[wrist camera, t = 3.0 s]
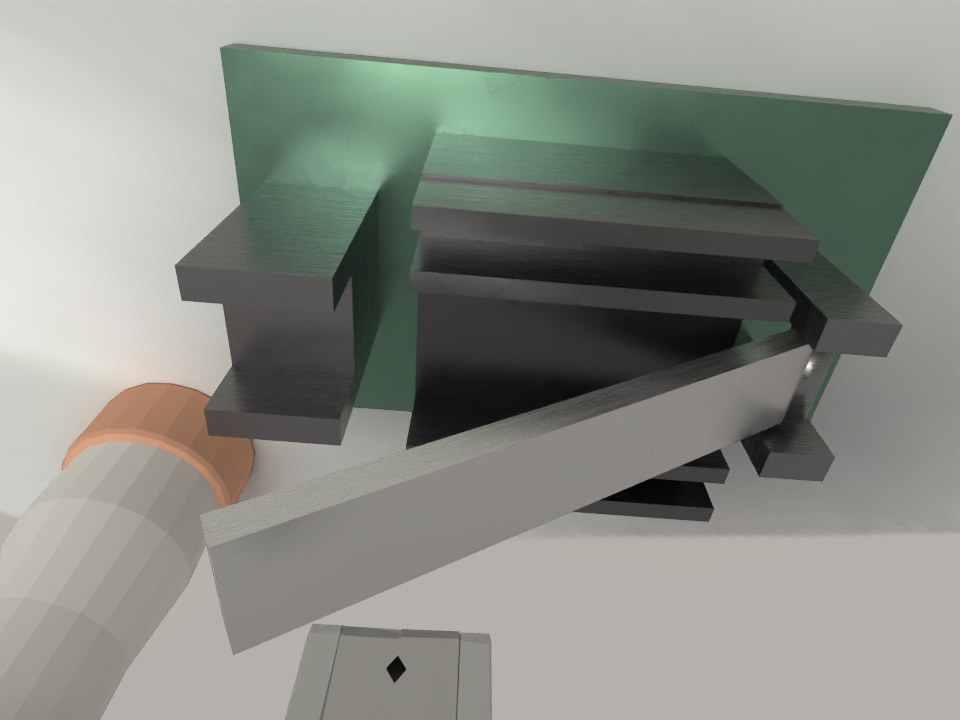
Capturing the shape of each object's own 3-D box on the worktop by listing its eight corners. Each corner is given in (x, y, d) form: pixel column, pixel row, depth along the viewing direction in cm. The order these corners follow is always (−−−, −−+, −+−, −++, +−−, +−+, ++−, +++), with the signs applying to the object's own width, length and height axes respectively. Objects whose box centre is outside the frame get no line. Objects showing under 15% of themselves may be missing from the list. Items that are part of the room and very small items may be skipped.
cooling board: (931, 107, 21) (1155, 179, 14) (789, 424, 29) (889, 577, 22) (233, 43, 21) (93, 84, 13) (274, 385, 28) (198, 529, 21)
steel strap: (810, 316, 19) (851, 337, 18) (777, 394, 21) (814, 417, 20) (196, 503, 11) (212, 561, 10) (220, 609, 12) (236, 668, 11)
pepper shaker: (92, 467, 31) (-341, 1005, 15) (115, 359, 28) (-420, 910, 11) (234, 514, 33) (-19, 1045, 17) (272, 418, 29) (-1, 973, 13)
